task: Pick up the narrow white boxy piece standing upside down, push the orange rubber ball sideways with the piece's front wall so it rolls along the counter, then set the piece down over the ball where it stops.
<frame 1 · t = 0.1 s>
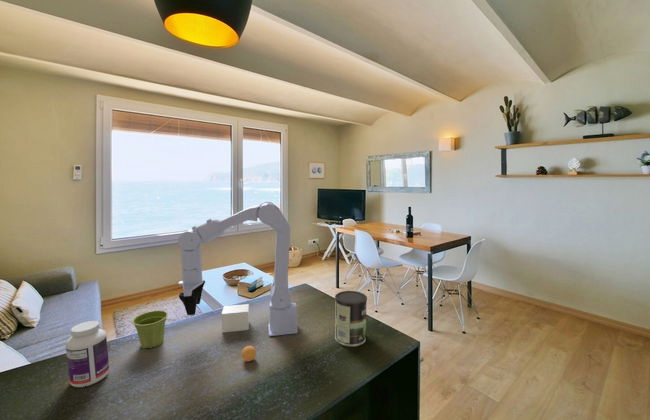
hand: (193, 308, 93), 10 cm above the kitchen island, tool pointing down, fingers open, 7 cm apart
coffee can: (350, 338, 95), on the kitchen island
white boxy piece: (236, 326, 101), on the kitchen island
ball: (249, 353, 83), on the kitchen island
pill bottle: (90, 379, 75), on the kitchen island
plant pot: (152, 344, 91), on the kitchen island
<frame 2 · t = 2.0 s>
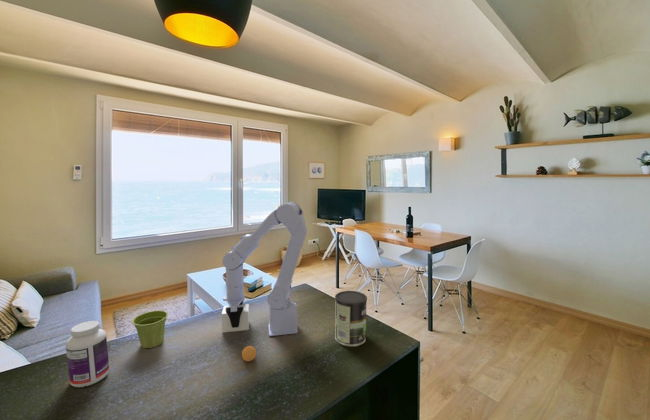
hand: (236, 322, 101), 2 cm above the kitchen island, tool pointing down, fingers closed on white boxy piece, 6 cm apart
white boxy piece: (236, 326, 101), on the kitchen island, touching gripper
everything else where it was.
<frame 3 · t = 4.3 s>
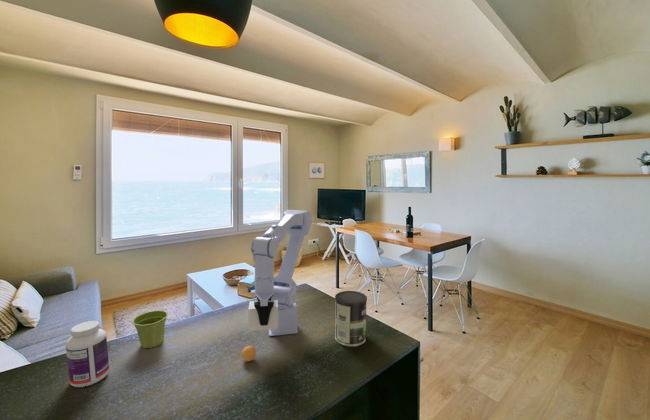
hand: (264, 319, 88), 9 cm above the kitchen island, tool pointing down, fingers closed on white boxy piece, 6 cm apart
white boxy piece: (263, 325, 88), point 7 cm above the kitchen island, touching gripper
everything else where it was.
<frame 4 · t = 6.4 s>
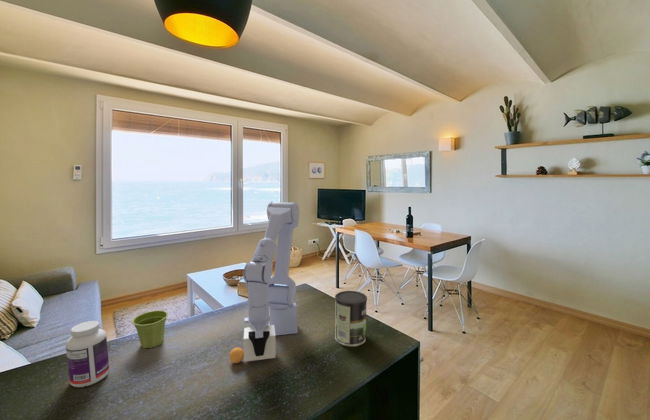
hand: (259, 348, 83), 3 cm above the kitchen island, tool pointing down, fingers closed on white boxy piece, 6 cm apart
white boxy piece: (259, 353, 83), point 2 cm above the kitchen island, touching gripper
ball: (236, 355, 82), on the kitchen island
everything else where it was.
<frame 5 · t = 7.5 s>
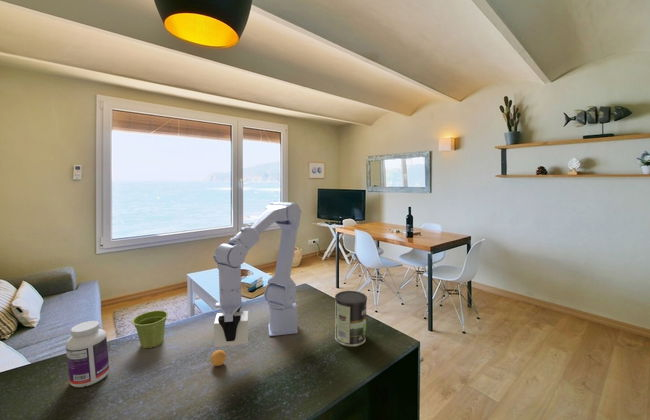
hand: (231, 334, 81), 9 cm above the kitchen island, tool pointing down, fingers closed on white boxy piece, 6 cm apart
white boxy piece: (232, 339, 81), point 7 cm above the kitchen island, touching gripper
ball: (218, 357, 81), on the kitchen island
everything else where it was.
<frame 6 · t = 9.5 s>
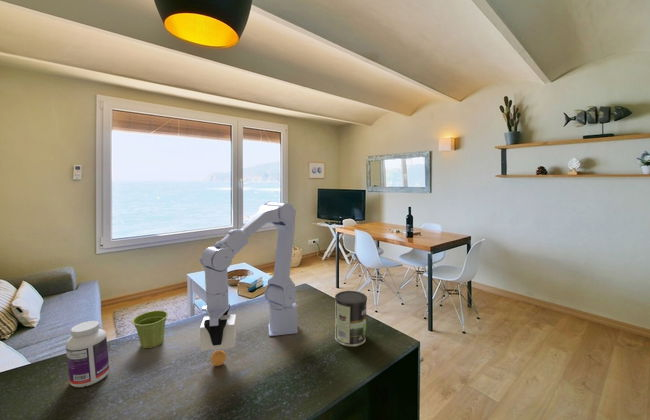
hand: (218, 337, 80), 8 cm above the kitchen island, tool pointing down, fingers closed on white boxy piece, 6 cm apart
white boxy piece: (219, 343, 80), point 6 cm above the kitchen island, touching gripper
everything else where it was.
when the fingers open (2 cm above the kitchen island, at t = 11.0 s): white boxy piece stays where it is, on the kitchen island.
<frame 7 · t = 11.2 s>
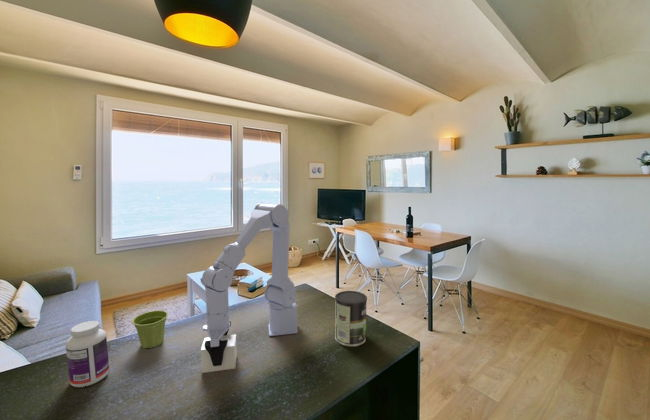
hand: (219, 356, 81), 2 cm above the kitchen island, tool pointing down, fingers open, 7 cm apart
white boxy piece: (220, 363, 81), on the kitchen island
everything else where it was.
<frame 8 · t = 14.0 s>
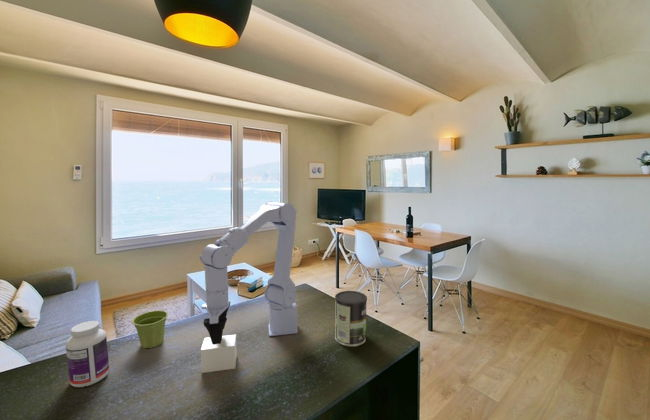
hand: (218, 335, 80), 8 cm above the kitchen island, tool pointing down, fingers open, 7 cm apart
nothing on the kitchen island moved.
at the end: ball 0.4 cm from the white boxy piece (horizontally); white boxy piece on the kitchen island; ball moved 8.2 cm from its start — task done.
